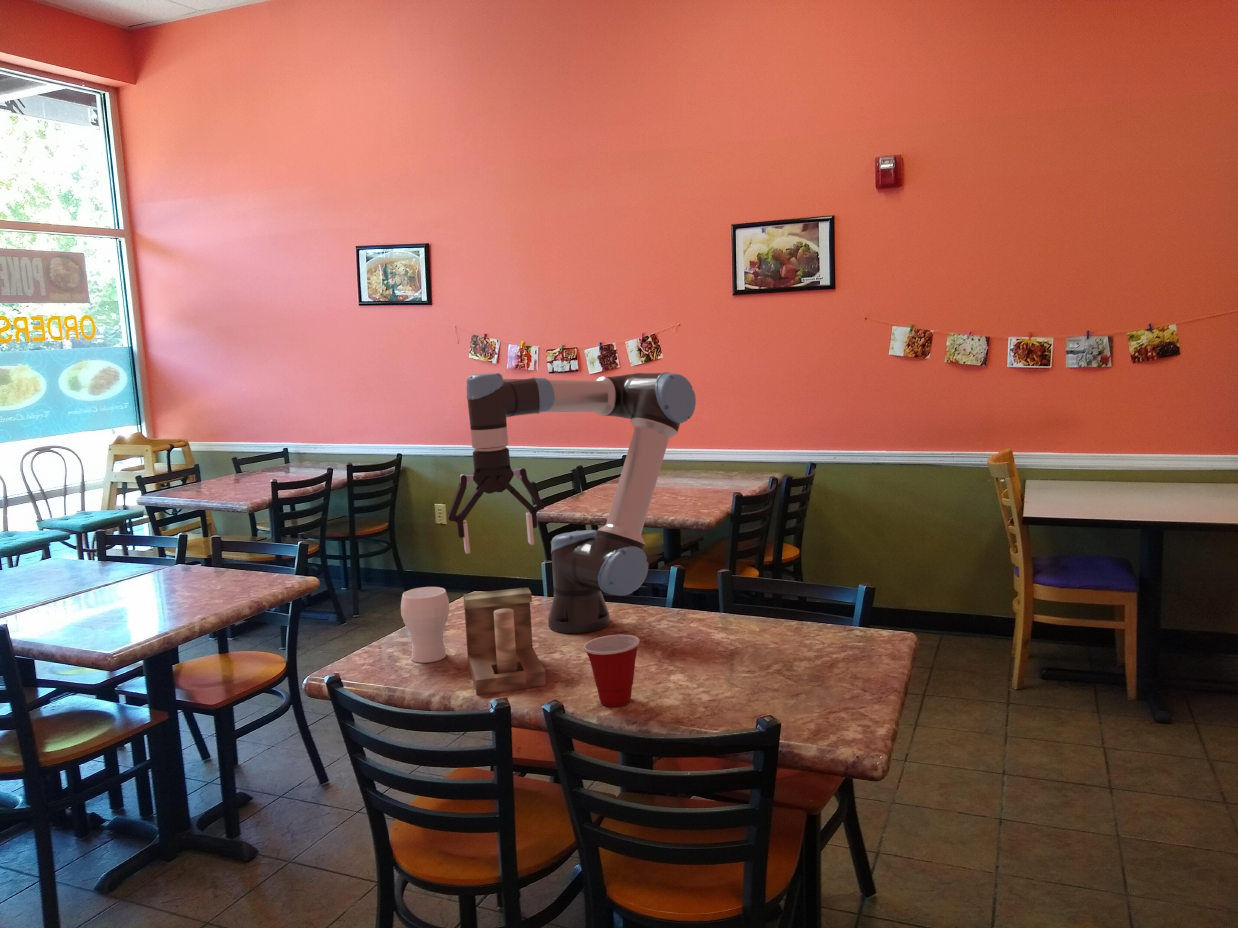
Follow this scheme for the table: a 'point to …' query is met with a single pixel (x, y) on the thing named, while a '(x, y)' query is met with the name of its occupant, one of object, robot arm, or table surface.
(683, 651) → the table surface
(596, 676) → the plastic cup
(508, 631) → the peg
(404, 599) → the cup
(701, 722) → the table surface
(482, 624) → the socket block
